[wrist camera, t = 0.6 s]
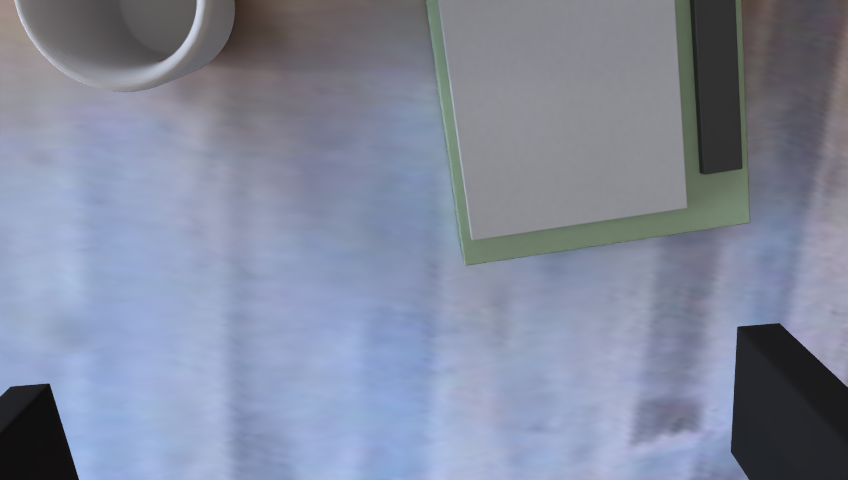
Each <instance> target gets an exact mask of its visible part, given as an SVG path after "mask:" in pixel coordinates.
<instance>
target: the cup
mask: <svg viewBox="0 0 848 480" xmlns="http://www.w3.org/2000/svg"><path fill="white" fill-rule="evenodd" d="M14 1H15V5H16V8H17V12H18V15H19V17H20V19H21V22H22V24H23V26H24V28H25V30H26V32H27V34H28V35H29V37H30V39H31V40H32V42H33V43H34V44H35V46H36V47H37V48H38V50H39V51H40V52H41V53H42V54H43V55H44V56H45V57H46V58H47V60H49V61H50V62H51V63H52V64H53V65H54V66H55V67H57V68H58V69H59V70H60V71H62V72H63V73H65V74H66V75H68V76H70V77H71V78H73V79H75V80H77V81H79V82H81V83H83V84H86V85H89V86H92V87H95V88H98V89H102V90H107V91H114V92H135V91H141V90H146V89H150V88H154V87H157V86H159V85H162V84H164V83H167V82H169V81H172V80H174V79H176V78H179V77H181V76H184V75H186V74H189V73H191V72H194V71H196V70H198V69H200V68H201V67H203V66H205V65H206V64H208V63H209V62H210V61H212V60H213V59H214V58H215V57H216V56H217V55H218V54H219V53H220V51H221V50H222V49H223V47H224V46H225V44H226V42H227V40H228V39H229V36H230V34H231V31H232V28H233V24H234V17H235V2H234V0H14Z"/></svg>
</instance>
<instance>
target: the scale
mask: <svg viewBox="0 0 848 480" xmlns="http://www.w3.org/2000/svg"><path fill="white" fill-rule="evenodd" d="M426 7H427V14H428V21H429V28H430V35H431V42H432V49H433V56H434V63H435V70H436V77H437V84H438V91H439V98H440V105H441V112H442V119H443V126H444V133H445V140H446V147H447V154H448V161H449V168H450V175H451V182H452V189H453V196H454V203H455V210H456V217H457V224H458V231H459V238H460V245H461V252H462V256H463V260H464V263H465V265H466V266H467V265H474V264H480V263H487V262H494V261H500V260H507V259H514V258H520V257H527V256H533V255H540V254H547V253H553V252H560V251H567V250H573V249H580V248H586V247H593V246H600V245H606V244H613V243H620V242H626V241H633V240H639V239H646V238H653V237H659V236H666V235H673V234H679V233H686V232H692V231H699V230H706V229H712V228H719V227H726V226H732V225H739V224H745V223H750V207H749V182H748V158H747V133H746V108H745V83H744V59H743V34H742V9H741V0H426Z"/></svg>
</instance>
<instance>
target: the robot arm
mask: <svg viewBox="0 0 848 480" xmlns="http://www.w3.org/2000/svg"><path fill="white" fill-rule="evenodd" d="M731 453H732V454H733V456H734V457H735V459H736V460H737V462H738V463H739V465H740V466H741V468H742V469H743V471H744V472H745V474H746V475H747V477H748V479H749V480H848V387H847V386H846V385H845V384H843V383H842V382H841V381H840V380H839V379H838V378H837V377H836V376H835V375H834V374H833V373H832V372H831V371H830V370H829V369H827V368H826V367H825V366H824V365H823V364H822V363H821V362H820V361H819V360H818V359H817V358H816V357H815V356H814V355H813V354H812V353H810V352H809V351H808V350H807V349H806V348H805V347H804V346H803V345H802V344H801V343H800V342H799V341H798V340H797V339H796V338H794V337H793V336H792V335H791V334H790V333H789V332H788V331H787V330H786V329H785V328H784V327H783V326H782V325H781V324H780V323H777V324H765V325H753V326H740V327H737V346H736V365H735V384H734V403H733V422H732V440H731ZM0 480H79V478H78V475H77V472H76V468H75V465H74V462H73V459H72V455H71V452H70V449H69V446H68V442H67V439H66V436H65V433H64V429H63V426H62V423H61V419H60V416H59V413H58V410H57V406H56V403H55V400H54V397H53V393H52V390H51V387H50V384H38V385H26V386H14V387H10V388H9V389H8V390H7V391H6V392H5V393H4V394H3V395H2V396H0Z"/></svg>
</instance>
